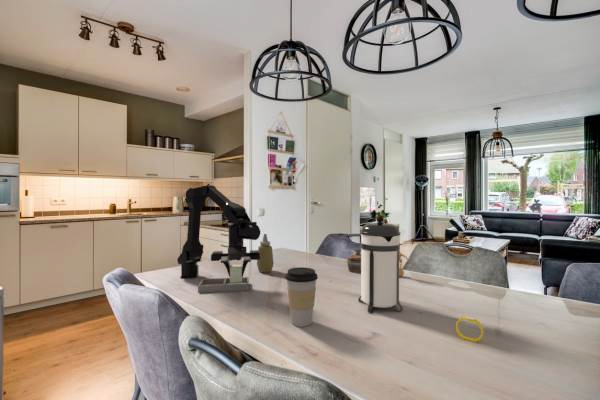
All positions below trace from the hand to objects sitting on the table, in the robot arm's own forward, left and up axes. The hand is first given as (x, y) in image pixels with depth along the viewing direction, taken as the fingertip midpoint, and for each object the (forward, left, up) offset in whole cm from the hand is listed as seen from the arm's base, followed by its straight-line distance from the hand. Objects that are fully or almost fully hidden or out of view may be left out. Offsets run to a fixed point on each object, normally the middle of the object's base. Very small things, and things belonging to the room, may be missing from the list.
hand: (236, 277), depth 120 cm
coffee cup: (+21, -36, -4) cm, 42 cm away
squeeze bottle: (+12, +23, -4) cm, 26 cm away
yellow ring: (+62, -52, -4) cm, 81 cm away
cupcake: (+56, +18, -4) cm, 59 cm away
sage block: (0, 0, -2) cm, 2 cm away
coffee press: (+48, -26, -4) cm, 55 cm away
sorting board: (-4, 0, -4) cm, 6 cm away
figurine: (+71, +5, -4) cm, 71 cm away
